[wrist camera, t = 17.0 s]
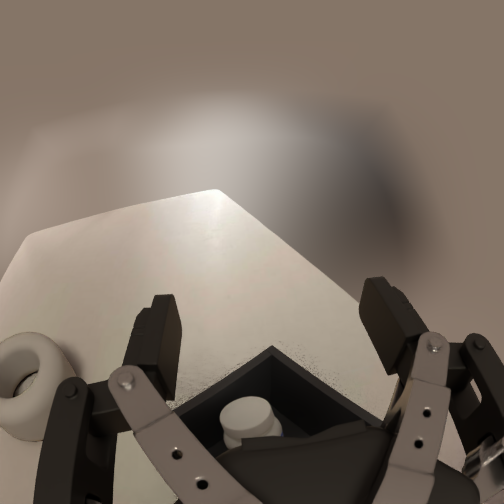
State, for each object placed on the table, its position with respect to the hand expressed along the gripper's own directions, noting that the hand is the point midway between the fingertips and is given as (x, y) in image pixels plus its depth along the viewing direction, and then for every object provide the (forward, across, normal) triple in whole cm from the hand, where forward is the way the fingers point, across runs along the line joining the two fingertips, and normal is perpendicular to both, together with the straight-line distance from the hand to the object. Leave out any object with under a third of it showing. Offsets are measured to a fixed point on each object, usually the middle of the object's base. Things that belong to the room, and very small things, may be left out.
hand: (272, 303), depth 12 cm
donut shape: (+6, +30, +22) cm, 37 cm away
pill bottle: (-2, 0, +20) cm, 20 cm away
